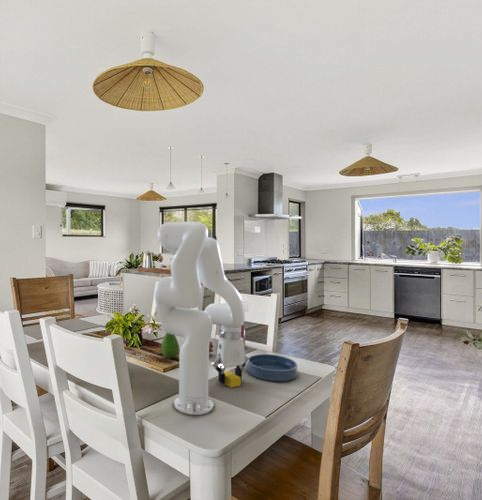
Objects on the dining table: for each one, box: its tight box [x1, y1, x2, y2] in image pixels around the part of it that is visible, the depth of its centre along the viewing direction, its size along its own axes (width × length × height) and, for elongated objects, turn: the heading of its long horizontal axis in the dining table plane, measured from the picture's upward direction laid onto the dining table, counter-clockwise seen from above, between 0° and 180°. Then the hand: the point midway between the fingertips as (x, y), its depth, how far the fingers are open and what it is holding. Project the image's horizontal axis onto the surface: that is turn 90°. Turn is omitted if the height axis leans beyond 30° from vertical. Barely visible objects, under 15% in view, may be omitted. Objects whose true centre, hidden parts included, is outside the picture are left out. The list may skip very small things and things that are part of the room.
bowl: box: [246, 353, 298, 382], centre depth 147 cm, size 19×19×4 cm
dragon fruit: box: [209, 340, 214, 353], centre depth 167 cm, size 8×8×12 cm
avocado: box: [160, 332, 180, 360], centre depth 163 cm, size 8×8×12 cm
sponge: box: [224, 370, 242, 388], centre depth 136 cm, size 7×4×3 cm, turn 25°
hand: (230, 381), depth 136 cm, fingers open, 6 cm apart
